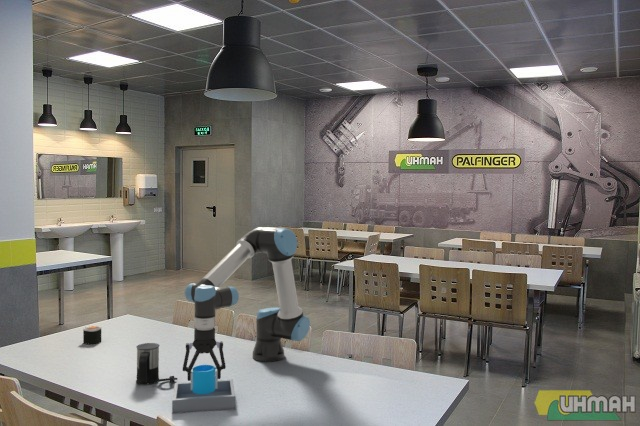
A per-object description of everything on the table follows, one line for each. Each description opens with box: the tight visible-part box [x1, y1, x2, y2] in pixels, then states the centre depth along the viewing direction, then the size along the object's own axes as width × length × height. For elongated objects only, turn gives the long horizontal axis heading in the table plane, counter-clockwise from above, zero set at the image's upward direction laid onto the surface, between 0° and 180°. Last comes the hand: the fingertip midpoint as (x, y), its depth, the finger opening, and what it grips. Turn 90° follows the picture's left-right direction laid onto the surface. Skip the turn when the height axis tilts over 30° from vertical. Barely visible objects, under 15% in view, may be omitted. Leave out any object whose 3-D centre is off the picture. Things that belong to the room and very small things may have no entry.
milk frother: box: [135, 342, 178, 386], centre depth 213 cm, size 14×16×15 cm
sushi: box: [82, 325, 103, 346], centre depth 267 cm, size 8×8×8 cm
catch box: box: [171, 379, 236, 415], centre depth 194 cm, size 22×17×5 cm
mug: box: [192, 364, 217, 394], centre depth 194 cm, size 12×8×8 cm
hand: (204, 388), depth 194 cm, fingers closed on mug, 8 cm apart
